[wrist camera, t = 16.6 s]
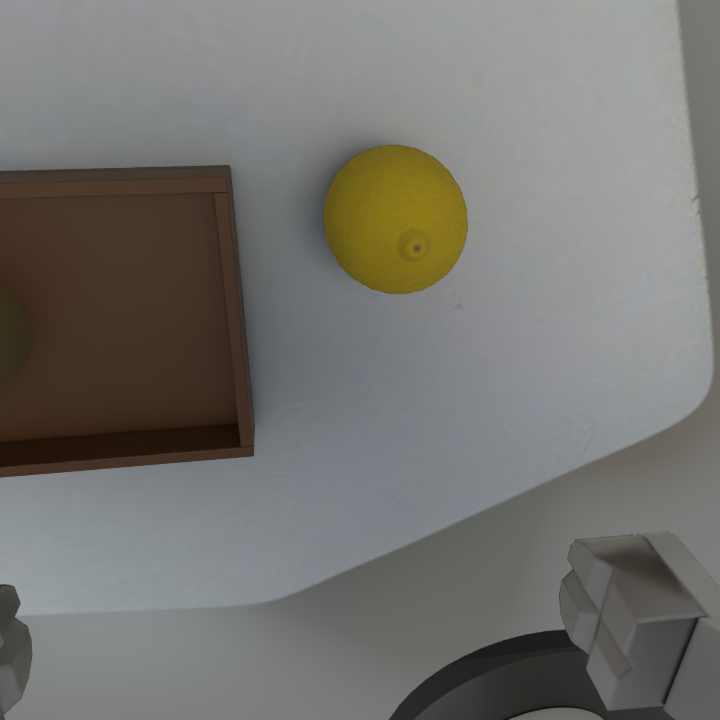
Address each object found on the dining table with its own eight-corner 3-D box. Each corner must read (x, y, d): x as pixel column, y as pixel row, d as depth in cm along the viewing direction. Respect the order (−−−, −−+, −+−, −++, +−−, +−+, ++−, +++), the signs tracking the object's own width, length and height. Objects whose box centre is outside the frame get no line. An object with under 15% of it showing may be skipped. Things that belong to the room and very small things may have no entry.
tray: (255, 425, 32) (254, 456, 30) (-101, 453, 30) (-133, 489, 28) (230, 165, 26) (226, 176, 24) (-215, 176, 24) (-270, 190, 22)
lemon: (393, 277, 30) (434, 349, 22) (293, 219, 28) (303, 277, 21) (460, 176, 28) (527, 219, 21) (358, 107, 26) (394, 128, 19)
